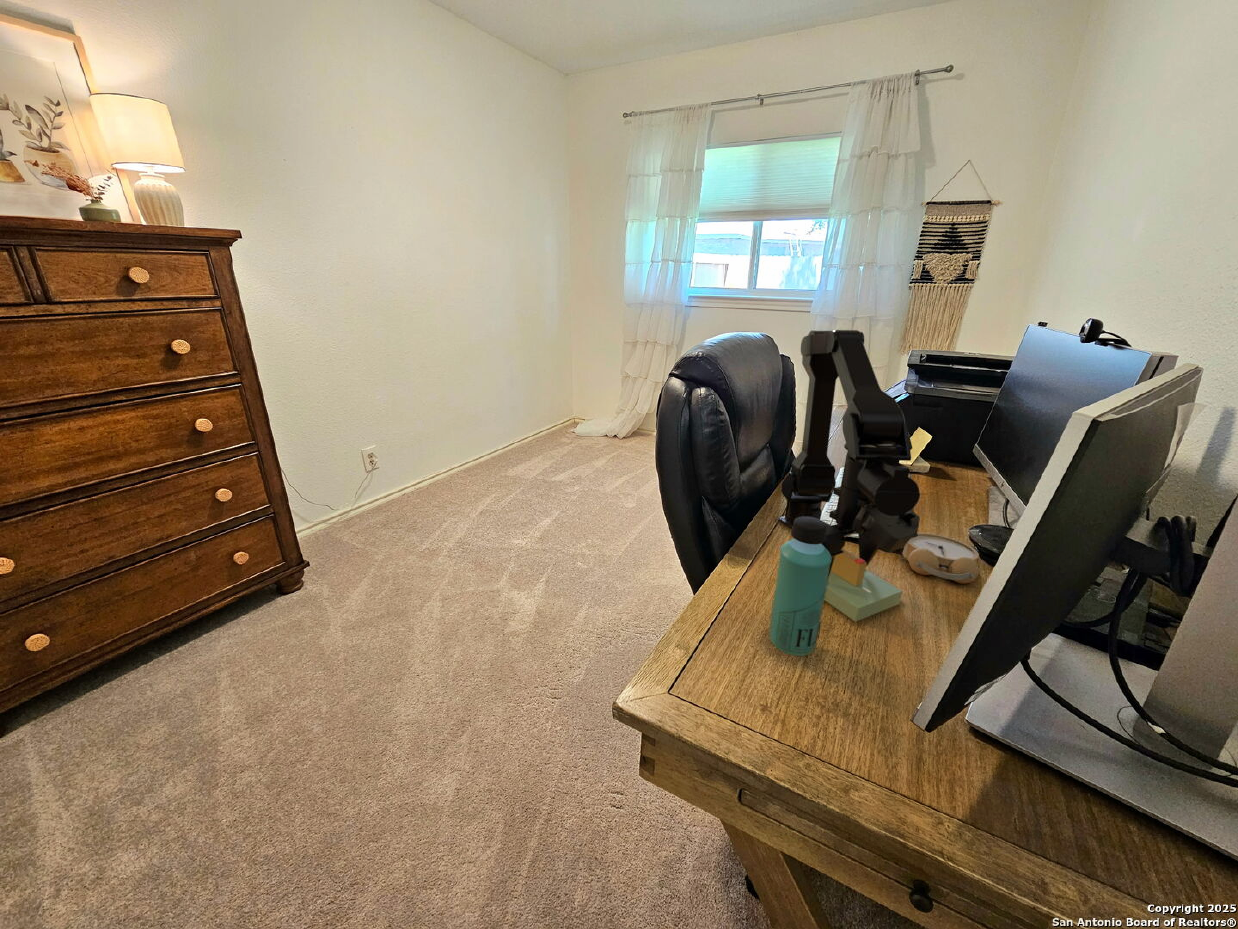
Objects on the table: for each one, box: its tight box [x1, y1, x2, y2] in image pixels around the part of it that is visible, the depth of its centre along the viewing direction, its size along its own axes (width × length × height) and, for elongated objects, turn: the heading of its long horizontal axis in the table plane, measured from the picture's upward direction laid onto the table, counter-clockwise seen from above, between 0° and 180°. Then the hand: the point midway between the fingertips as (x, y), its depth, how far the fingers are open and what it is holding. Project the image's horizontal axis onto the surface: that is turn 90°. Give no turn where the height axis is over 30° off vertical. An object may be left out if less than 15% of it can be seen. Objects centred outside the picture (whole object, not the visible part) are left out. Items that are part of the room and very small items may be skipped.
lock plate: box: [824, 569, 903, 623], centre depth 80 cm, size 14×10×3 cm
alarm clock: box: [902, 532, 980, 585], centre depth 86 cm, size 11×5×15 cm
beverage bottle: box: [768, 516, 831, 657], centre depth 64 cm, size 6×7×20 cm
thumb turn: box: [831, 548, 867, 586], centre depth 79 cm, size 6×2×4 cm, turn 26°
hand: (844, 572), depth 80 cm, fingers open, 9 cm apart
